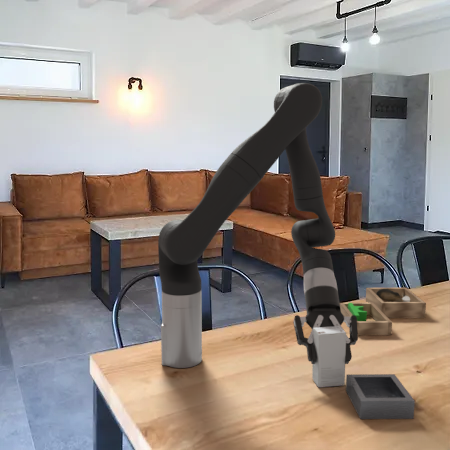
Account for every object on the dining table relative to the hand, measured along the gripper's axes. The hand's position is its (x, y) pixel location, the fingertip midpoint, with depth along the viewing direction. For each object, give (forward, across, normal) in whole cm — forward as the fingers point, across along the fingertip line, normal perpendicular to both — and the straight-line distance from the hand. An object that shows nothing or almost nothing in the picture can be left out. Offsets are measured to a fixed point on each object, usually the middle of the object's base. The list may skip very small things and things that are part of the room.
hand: (330, 362), depth 108 cm
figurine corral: (-32, +31, +40) cm, 60 cm away
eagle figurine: (-31, +30, +39) cm, 59 cm away
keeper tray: (+9, +8, -1) cm, 12 cm away
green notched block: (-23, +16, +31) cm, 42 cm away
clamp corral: (-23, +18, +30) cm, 42 cm away
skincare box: (+3, 0, +5) cm, 6 cm away
